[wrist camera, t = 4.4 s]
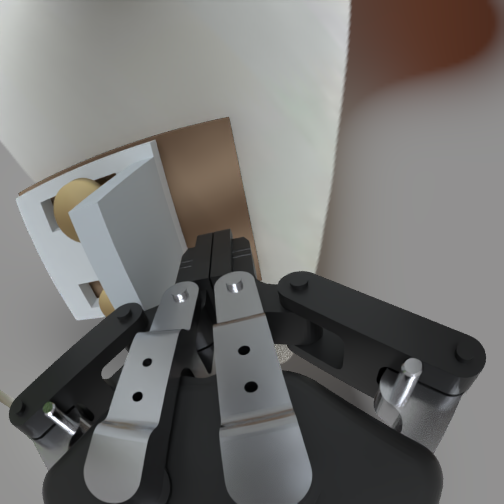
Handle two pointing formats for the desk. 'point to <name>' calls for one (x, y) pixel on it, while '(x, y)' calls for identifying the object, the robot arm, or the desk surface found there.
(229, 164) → the board
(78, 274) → the panel
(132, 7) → the desk surface
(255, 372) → the robot arm
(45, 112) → the desk surface
